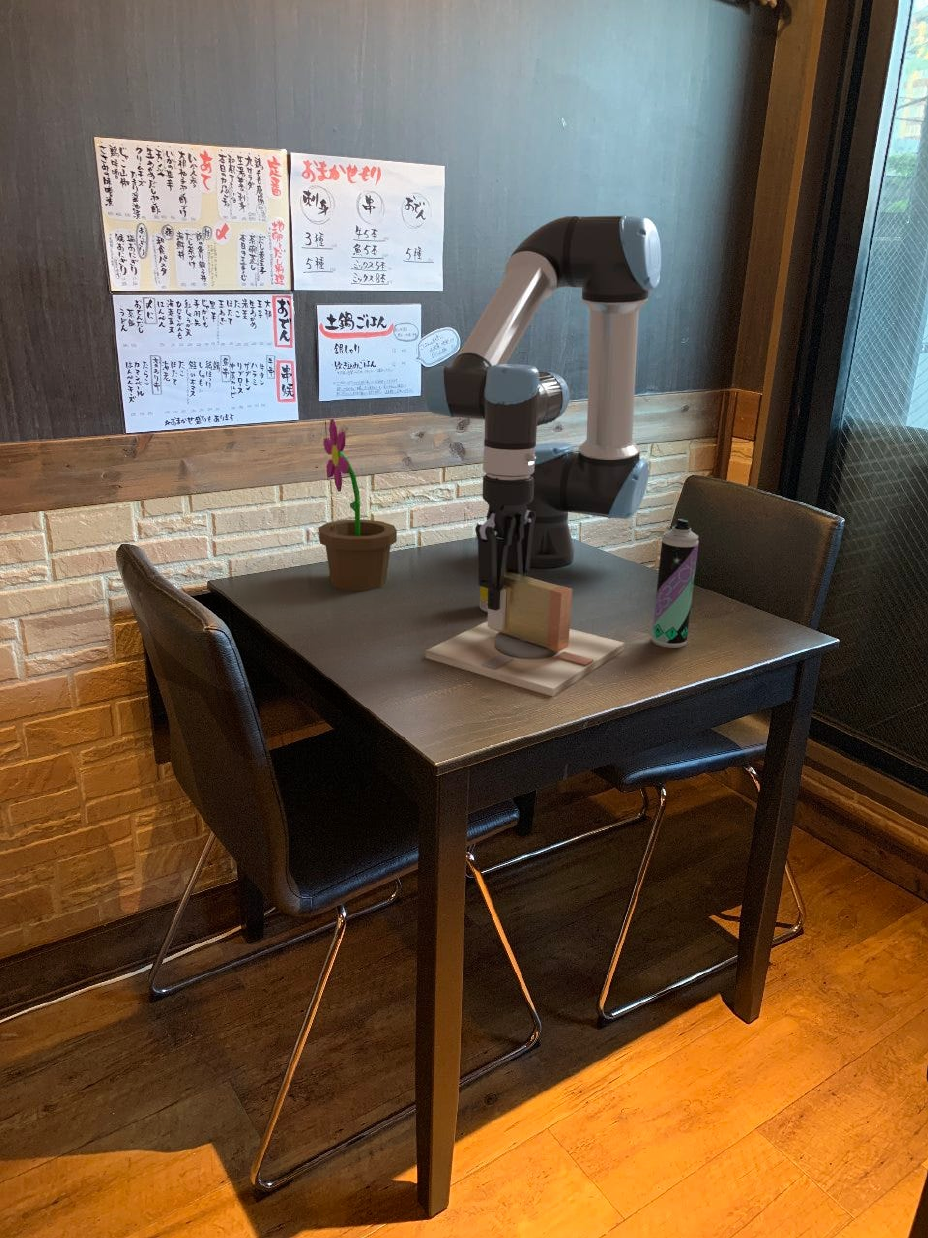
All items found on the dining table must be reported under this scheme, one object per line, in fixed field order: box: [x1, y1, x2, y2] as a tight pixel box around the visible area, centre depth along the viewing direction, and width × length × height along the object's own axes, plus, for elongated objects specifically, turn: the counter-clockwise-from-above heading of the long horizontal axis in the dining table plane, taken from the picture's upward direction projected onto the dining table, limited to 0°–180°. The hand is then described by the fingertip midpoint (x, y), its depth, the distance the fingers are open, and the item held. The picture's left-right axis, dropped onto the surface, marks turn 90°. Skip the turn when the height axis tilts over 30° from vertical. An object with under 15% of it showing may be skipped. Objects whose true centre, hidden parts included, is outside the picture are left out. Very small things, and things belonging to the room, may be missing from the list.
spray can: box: [651, 518, 699, 649], centre depth 145 cm, size 6×6×20 cm
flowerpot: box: [318, 418, 398, 592], centre depth 168 cm, size 14×14×30 cm
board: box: [425, 620, 626, 698], centre depth 142 cm, size 22×22×2 cm
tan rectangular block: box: [490, 571, 573, 652], centre depth 140 cm, size 13×3×9 cm, turn 48°
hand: (502, 624), depth 144 cm, fingers closed on tan rectangular block, 3 cm apart
